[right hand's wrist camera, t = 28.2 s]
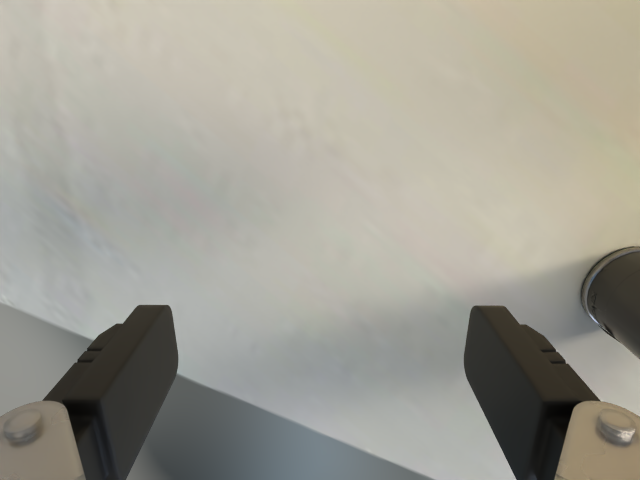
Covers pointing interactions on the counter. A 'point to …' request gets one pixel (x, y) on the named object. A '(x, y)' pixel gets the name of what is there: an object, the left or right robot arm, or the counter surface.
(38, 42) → the counter surface
